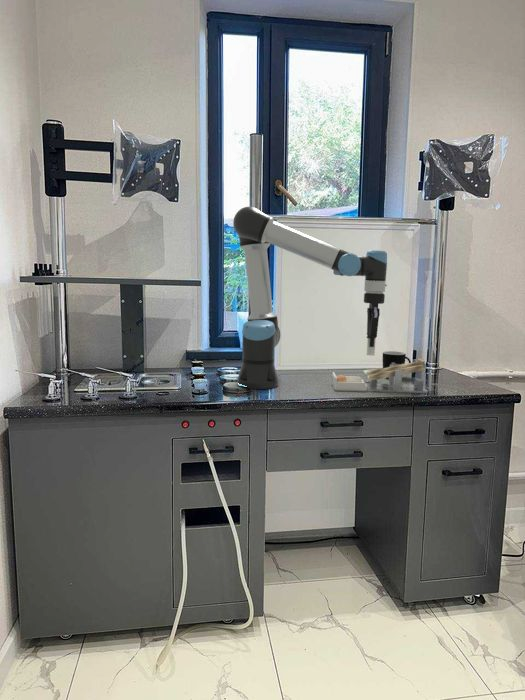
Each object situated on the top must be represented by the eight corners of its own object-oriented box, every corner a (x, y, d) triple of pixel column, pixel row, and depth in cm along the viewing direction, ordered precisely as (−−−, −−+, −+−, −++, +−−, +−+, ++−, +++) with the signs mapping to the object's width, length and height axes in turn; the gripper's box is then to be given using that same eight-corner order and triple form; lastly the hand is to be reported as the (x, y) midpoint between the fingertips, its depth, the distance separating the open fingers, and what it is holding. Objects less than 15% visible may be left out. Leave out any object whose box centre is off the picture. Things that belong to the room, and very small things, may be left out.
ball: (348, 385, 184) (338, 388, 185) (347, 383, 188) (336, 385, 189) (345, 374, 184) (335, 378, 184) (344, 372, 188) (334, 375, 188)
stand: (368, 391, 181) (369, 369, 180) (363, 384, 192) (364, 364, 191) (427, 393, 180) (429, 371, 179) (419, 386, 191) (421, 365, 190)
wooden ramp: (370, 383, 182) (368, 372, 182) (363, 374, 198) (362, 364, 197) (426, 372, 181) (424, 361, 180) (415, 364, 196) (413, 354, 196)
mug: (387, 380, 201) (388, 354, 199) (377, 375, 210) (379, 351, 208) (415, 379, 203) (416, 354, 202) (404, 374, 212) (406, 350, 210)
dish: (334, 390, 181) (335, 378, 181) (332, 383, 192) (332, 372, 192) (366, 391, 181) (367, 378, 180) (362, 384, 192) (362, 372, 191)
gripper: (388, 293, 183) (383, 358, 187) (381, 292, 196) (377, 352, 200) (367, 293, 184) (363, 357, 187) (361, 291, 197) (358, 352, 200)
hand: (370, 355), depth 194 cm, fingers closed
